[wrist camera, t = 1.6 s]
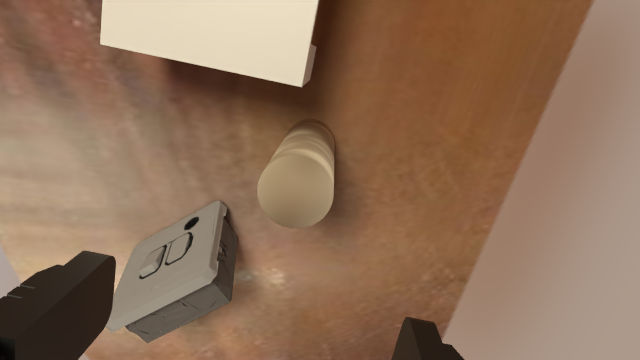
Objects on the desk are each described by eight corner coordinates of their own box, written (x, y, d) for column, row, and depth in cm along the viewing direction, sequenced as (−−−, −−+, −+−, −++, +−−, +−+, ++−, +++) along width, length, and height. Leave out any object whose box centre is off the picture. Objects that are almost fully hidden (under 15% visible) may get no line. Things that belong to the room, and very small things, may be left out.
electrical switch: (223, 195, 36) (193, 252, 27) (255, 241, 38) (237, 308, 29) (135, 242, 38) (81, 310, 29) (170, 285, 39) (129, 361, 31)
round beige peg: (339, 124, 34) (341, 164, 22) (329, 171, 35) (325, 235, 23) (290, 114, 34) (264, 148, 21) (281, 161, 35) (251, 220, 23)
